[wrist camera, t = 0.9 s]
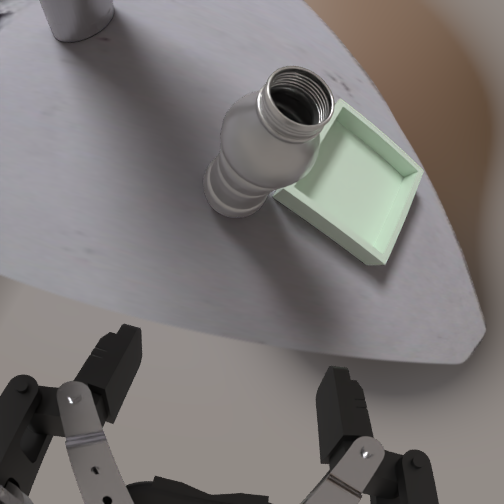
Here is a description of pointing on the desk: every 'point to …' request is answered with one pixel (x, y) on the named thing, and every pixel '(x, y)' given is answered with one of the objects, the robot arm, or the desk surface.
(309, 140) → the plastic bottle
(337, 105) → the green tray
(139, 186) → the desk surface
